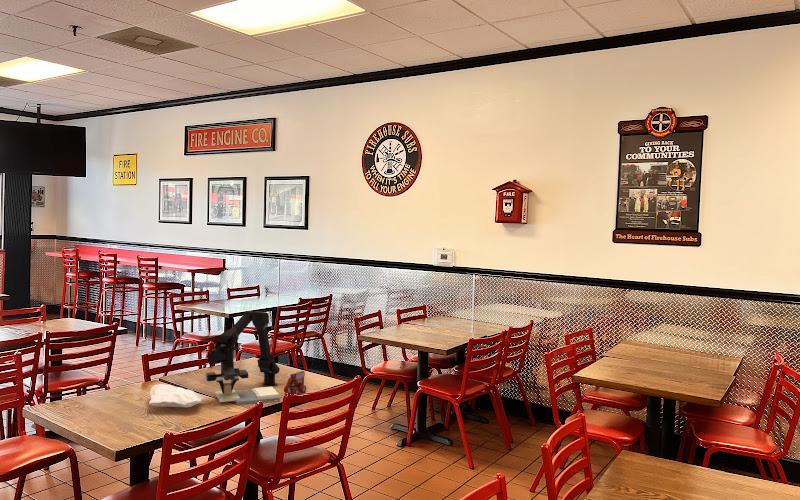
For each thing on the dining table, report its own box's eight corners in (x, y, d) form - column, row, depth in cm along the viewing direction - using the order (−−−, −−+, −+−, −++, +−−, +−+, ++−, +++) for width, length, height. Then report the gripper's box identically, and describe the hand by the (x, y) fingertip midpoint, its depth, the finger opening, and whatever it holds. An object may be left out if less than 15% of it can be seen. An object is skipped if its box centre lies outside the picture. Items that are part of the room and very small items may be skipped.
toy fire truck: (280, 395, 303) (281, 374, 302) (298, 389, 313) (298, 369, 313) (291, 397, 299) (292, 376, 298) (308, 391, 309) (309, 371, 309)
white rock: (167, 418, 260) (170, 396, 260) (127, 400, 282) (130, 380, 283) (215, 414, 277) (218, 394, 278) (174, 397, 300) (177, 378, 301)
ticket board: (229, 394, 301) (230, 388, 300) (270, 390, 309) (271, 385, 309) (236, 405, 284) (236, 399, 284) (279, 400, 293) (279, 394, 293)
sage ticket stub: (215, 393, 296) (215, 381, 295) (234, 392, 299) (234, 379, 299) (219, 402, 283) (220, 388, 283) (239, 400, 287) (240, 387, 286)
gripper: (209, 366, 279) (208, 400, 280) (250, 362, 287) (250, 396, 288) (205, 360, 289) (205, 393, 290) (246, 357, 297) (245, 389, 298)
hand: (226, 393), depth 291 cm, fingers closed on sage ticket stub, 3 cm apart
